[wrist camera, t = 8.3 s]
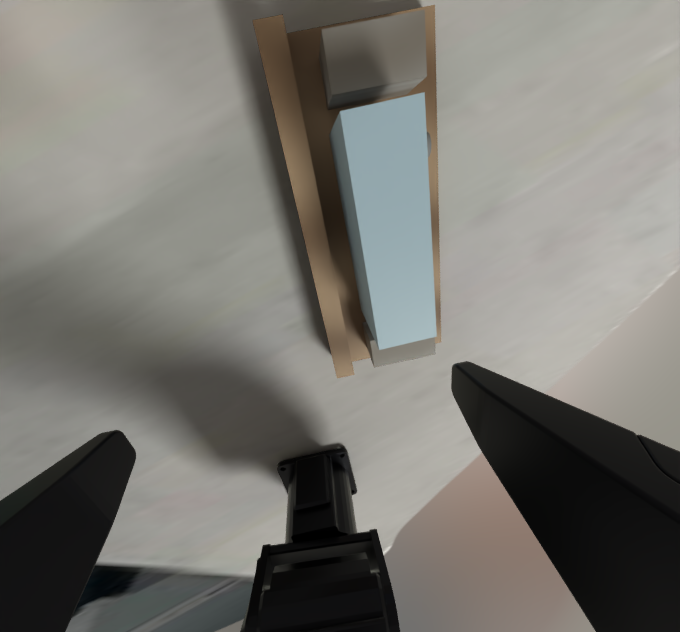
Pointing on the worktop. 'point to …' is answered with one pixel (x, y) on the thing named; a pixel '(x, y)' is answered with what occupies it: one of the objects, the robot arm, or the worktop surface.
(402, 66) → the rail
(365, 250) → the door panel
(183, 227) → the worktop surface
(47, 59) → the worktop surface
